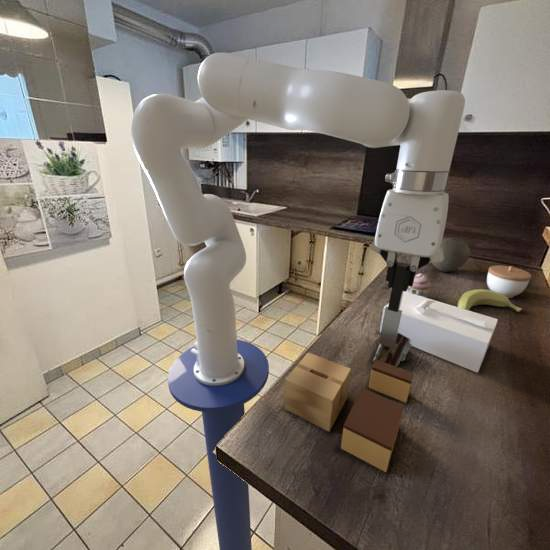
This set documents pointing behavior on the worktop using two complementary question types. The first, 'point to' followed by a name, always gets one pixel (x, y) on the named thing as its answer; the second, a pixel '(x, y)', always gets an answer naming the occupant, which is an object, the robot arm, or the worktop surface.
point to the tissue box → (445, 330)
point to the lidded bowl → (507, 280)
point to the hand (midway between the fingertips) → (398, 286)
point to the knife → (393, 308)
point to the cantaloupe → (453, 254)
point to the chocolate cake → (394, 351)
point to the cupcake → (420, 286)
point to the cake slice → (390, 380)
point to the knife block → (317, 390)
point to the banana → (484, 299)
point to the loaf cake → (372, 428)
